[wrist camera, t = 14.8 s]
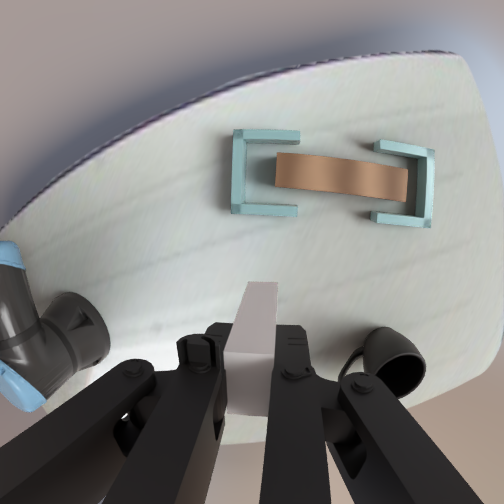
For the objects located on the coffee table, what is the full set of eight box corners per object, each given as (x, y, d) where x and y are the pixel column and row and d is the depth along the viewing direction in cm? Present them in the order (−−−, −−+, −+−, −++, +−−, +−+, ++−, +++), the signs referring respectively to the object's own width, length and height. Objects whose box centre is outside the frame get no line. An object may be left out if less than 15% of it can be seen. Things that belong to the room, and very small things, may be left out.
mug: (330, 328, 39) (339, 366, 29) (405, 314, 37) (430, 345, 27) (333, 371, 40) (340, 412, 31) (402, 357, 38) (422, 393, 29)
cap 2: (424, 151, 31) (434, 149, 28) (421, 225, 34) (430, 228, 31) (373, 142, 32) (380, 139, 29) (370, 220, 34) (376, 222, 32)
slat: (276, 187, 36) (274, 186, 31) (278, 156, 35) (277, 152, 30) (393, 200, 34) (405, 202, 29) (395, 171, 33) (408, 169, 28)
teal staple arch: (235, 211, 37) (230, 213, 34) (238, 134, 34) (233, 129, 31) (296, 214, 36) (297, 216, 33) (299, 135, 33) (300, 130, 30)
